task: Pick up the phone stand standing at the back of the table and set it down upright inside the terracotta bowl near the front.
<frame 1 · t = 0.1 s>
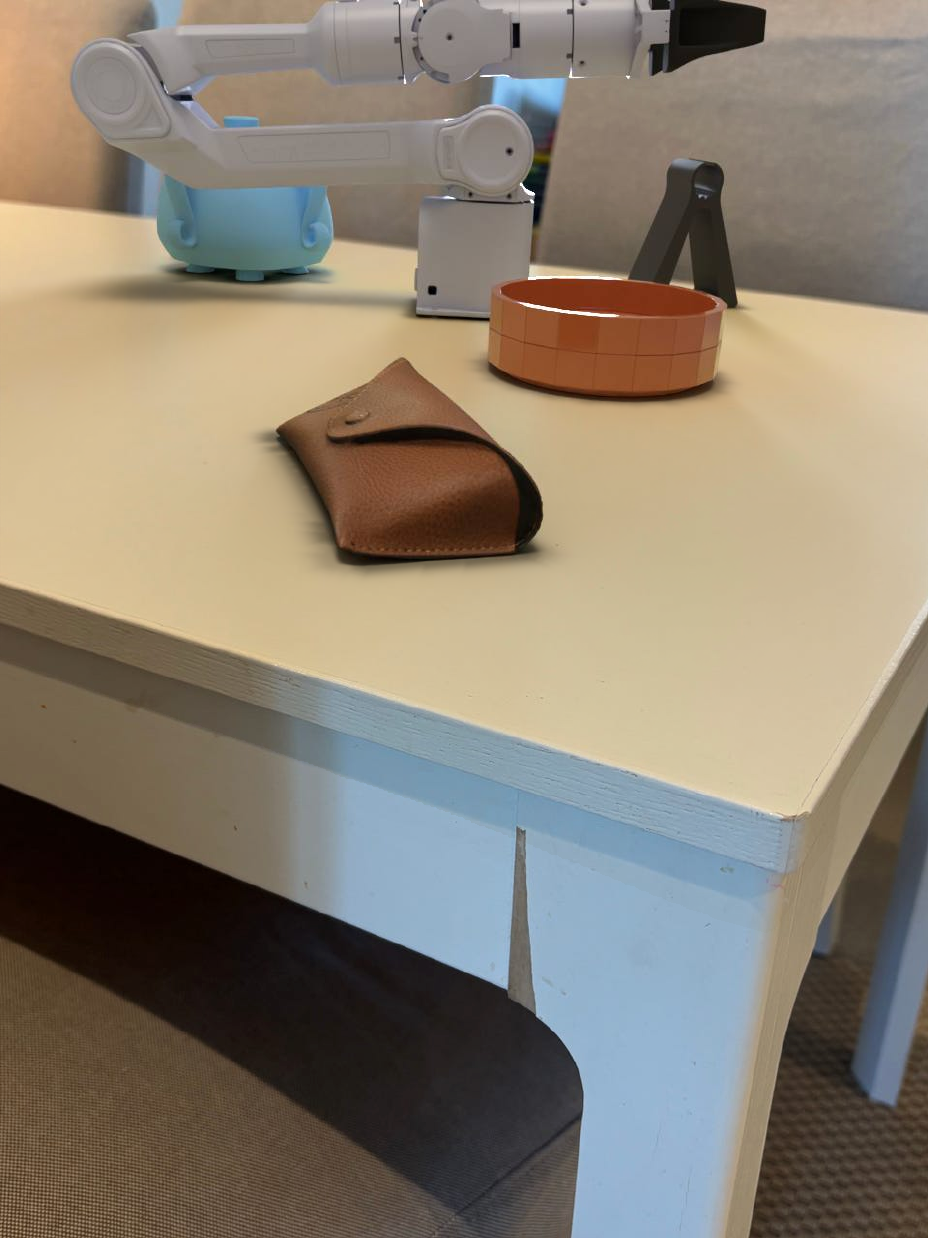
hand: (752, 29, 80), 22 cm above the table, tool horizontal, fingers open, 7 cm apart
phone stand: (678, 303, 99), on the table
sunglasses case: (389, 489, 49), on the table
decorative pot: (248, 272, 103), on the table
bowl: (599, 371, 72), on the table
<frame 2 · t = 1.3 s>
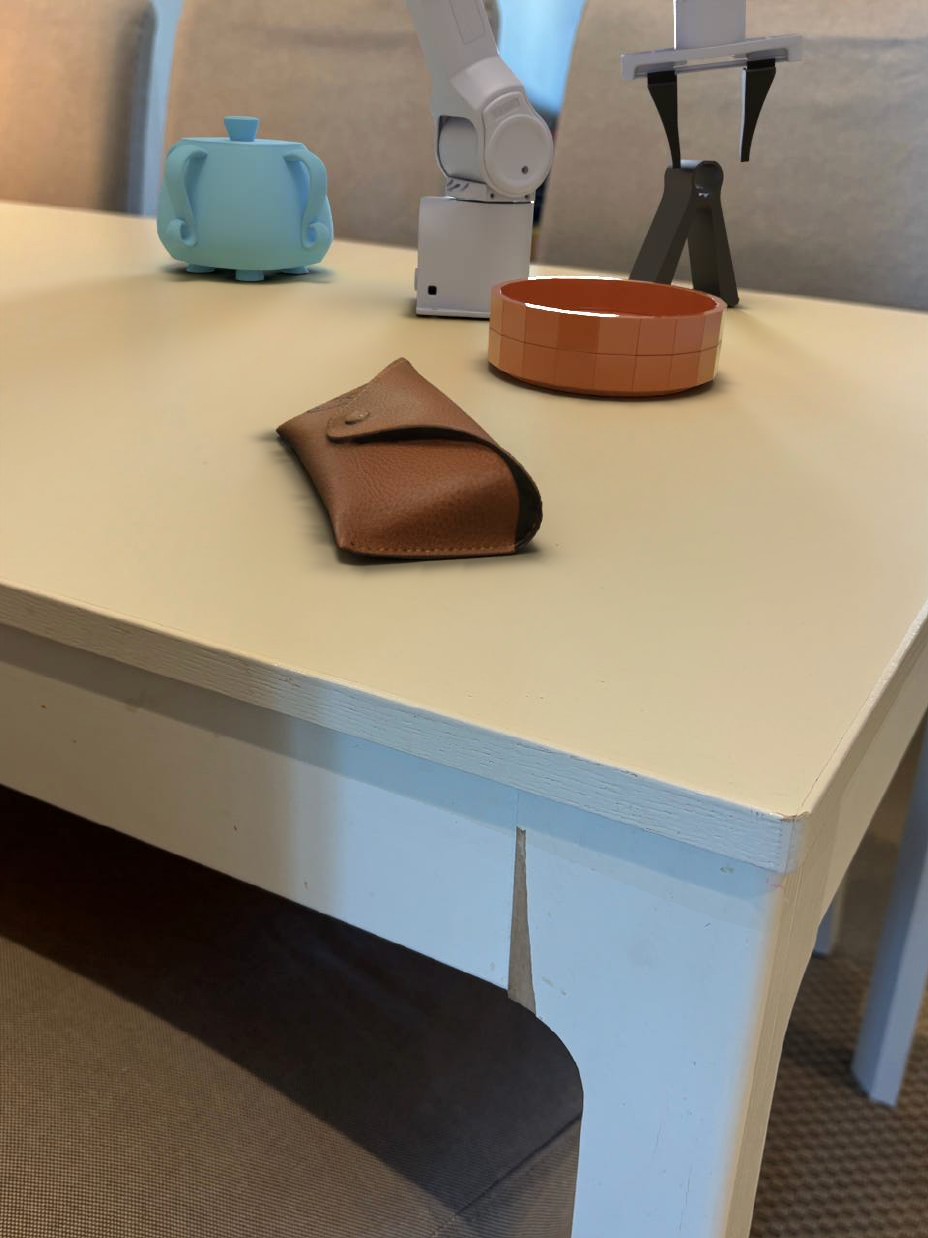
hand: (709, 163, 93), 12 cm above the table, tool pointing down, fingers open, 5 cm apart
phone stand: (679, 303, 99), on the table, touching gripper
everything else where it was.
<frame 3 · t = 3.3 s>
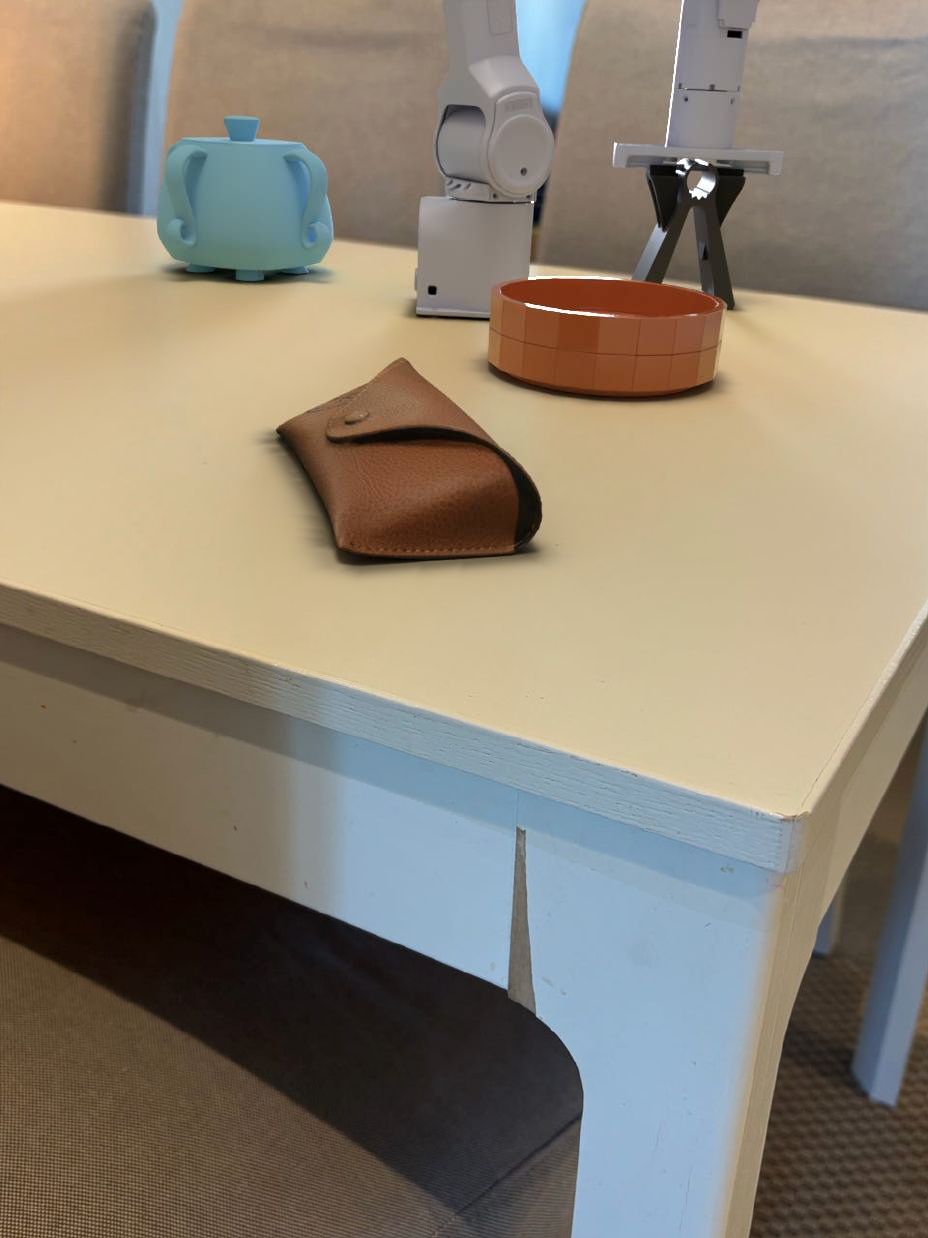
hand: (684, 257, 97), 4 cm above the table, tool pointing down, fingers closed on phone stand, 3 cm apart
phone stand: (678, 303, 99), on the table, touching gripper
everything else where it was.
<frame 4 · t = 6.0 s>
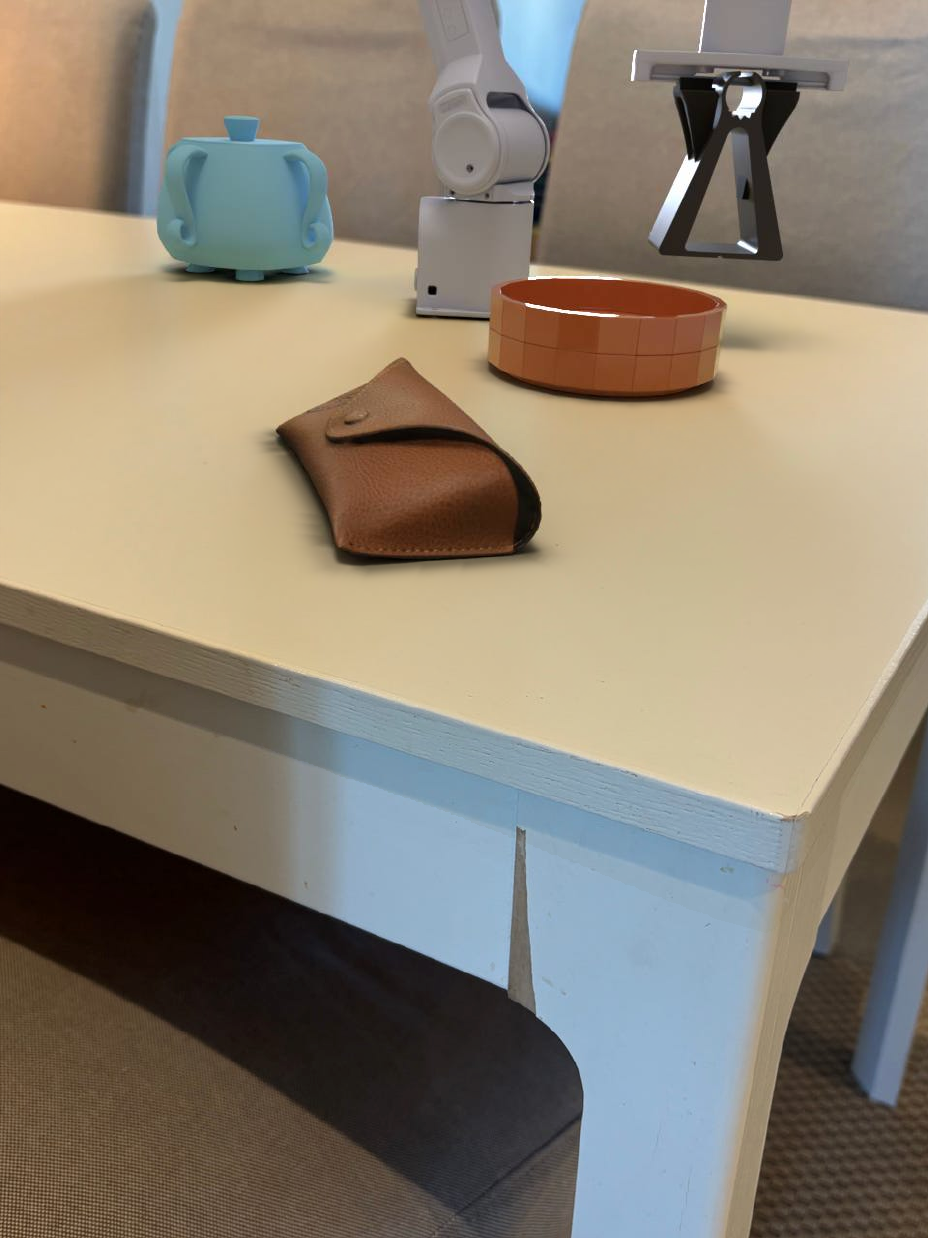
hand: (720, 197, 78), 10 cm above the table, tool pointing down, fingers closed on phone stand, 3 cm apart
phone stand: (711, 255, 79), point 6 cm above the table, touching gripper
everything else where it was.
when the fingers open (4 cm above the table, at t = 9.1 s): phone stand stays where it is, resting on bowl.
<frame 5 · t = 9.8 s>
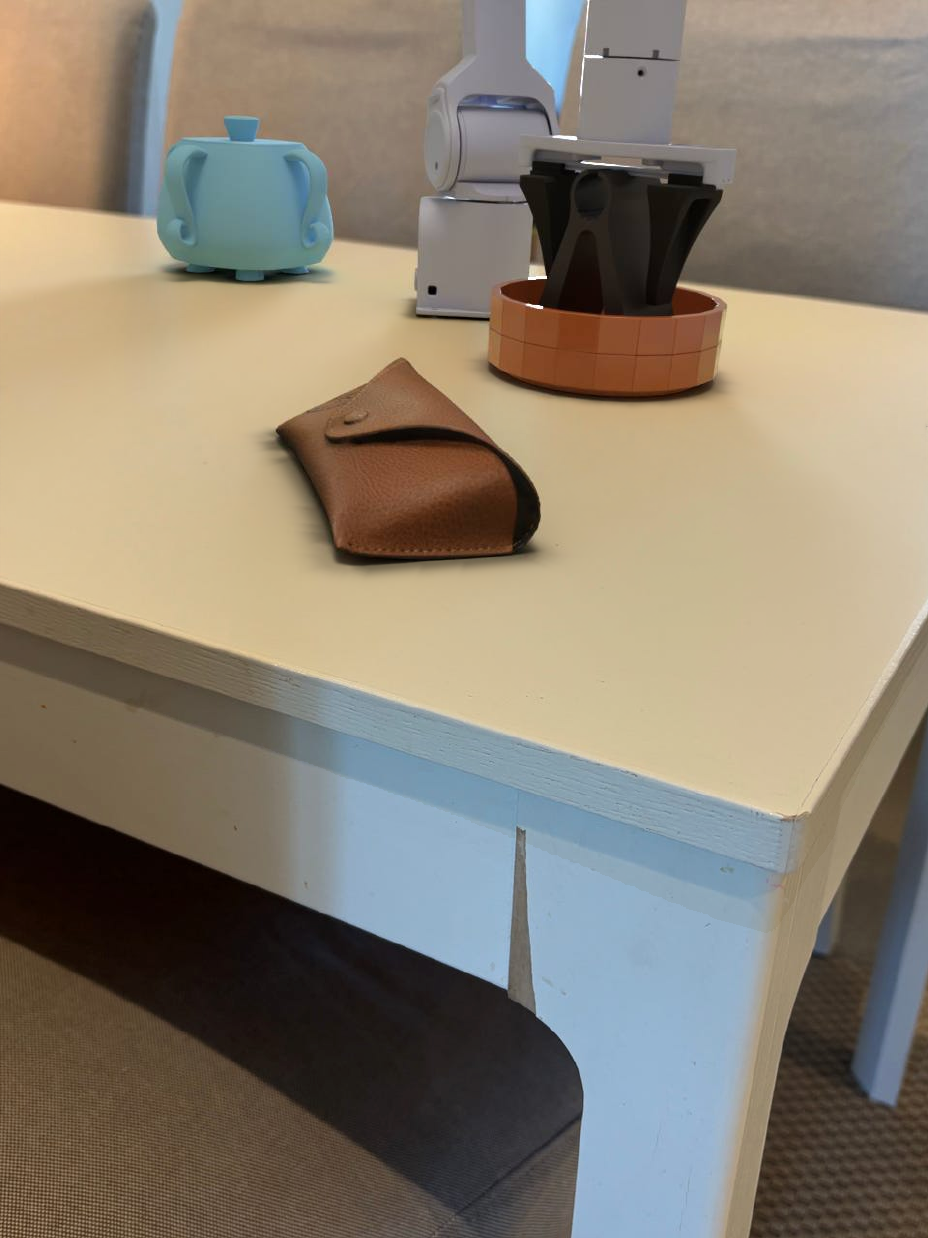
hand: (607, 295, 69), 5 cm above the table, tool pointing down, fingers open, 7 cm apart
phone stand: (599, 365, 72), resting on bowl
everything else where it was.
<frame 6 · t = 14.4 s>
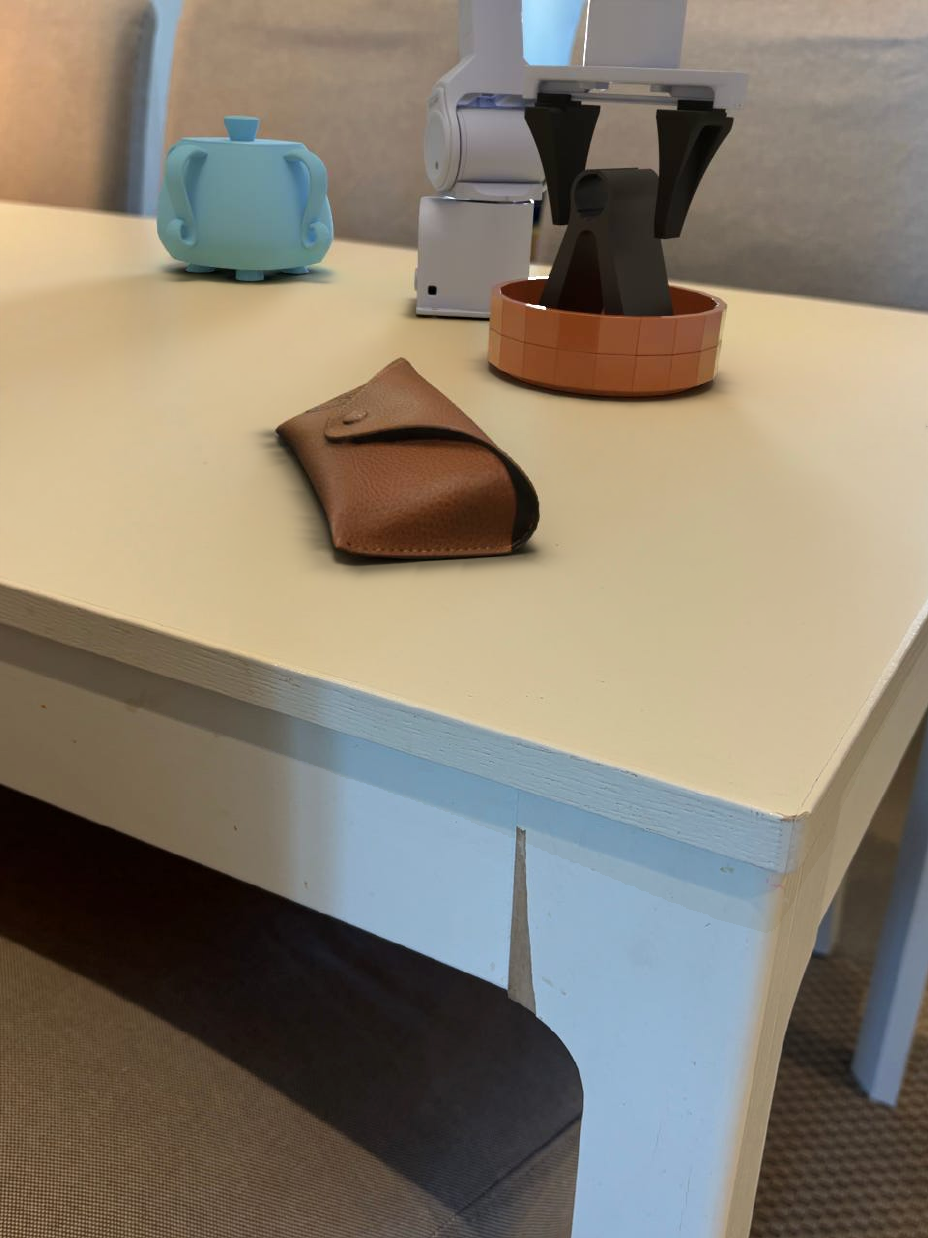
hand: (614, 230, 68), 9 cm above the table, tool pointing down, fingers open, 7 cm apart
nothing on the table moved.
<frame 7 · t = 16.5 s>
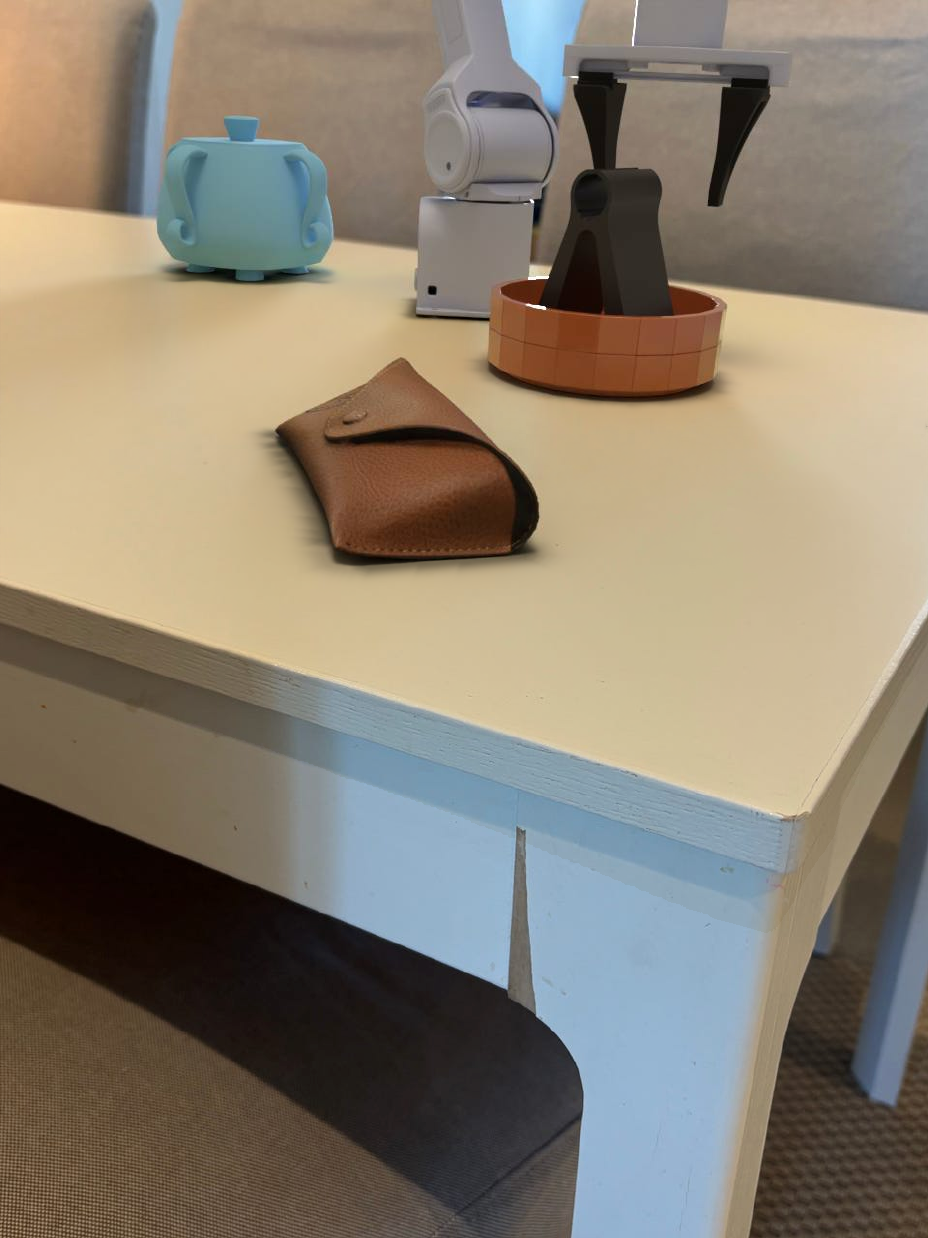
hand: (658, 201, 73), 10 cm above the table, tool pointing down, fingers open, 7 cm apart
nothing on the table moved.
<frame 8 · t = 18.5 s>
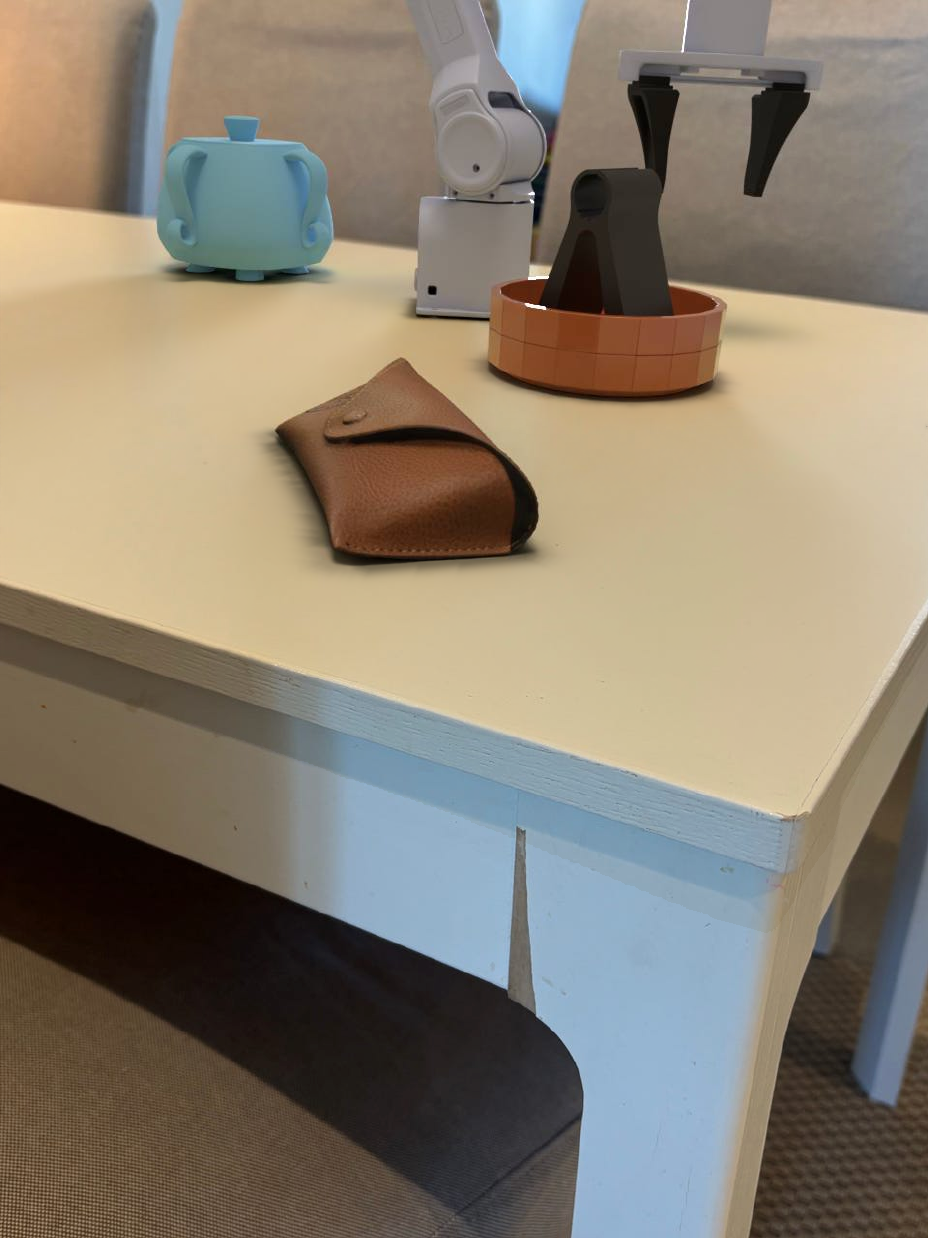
hand: (703, 194, 80), 10 cm above the table, tool pointing down, fingers open, 7 cm apart
nothing on the table moved.
at the end: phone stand inside the target area in the bowl (0.1 cm from its centre), point 0.4 cm above the bowl's base; the gripper is holding nothing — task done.
